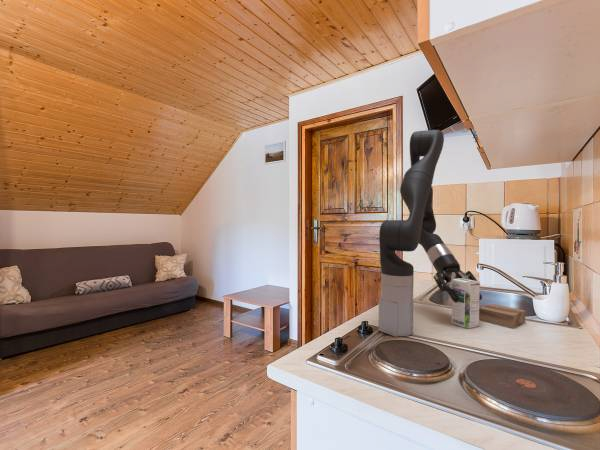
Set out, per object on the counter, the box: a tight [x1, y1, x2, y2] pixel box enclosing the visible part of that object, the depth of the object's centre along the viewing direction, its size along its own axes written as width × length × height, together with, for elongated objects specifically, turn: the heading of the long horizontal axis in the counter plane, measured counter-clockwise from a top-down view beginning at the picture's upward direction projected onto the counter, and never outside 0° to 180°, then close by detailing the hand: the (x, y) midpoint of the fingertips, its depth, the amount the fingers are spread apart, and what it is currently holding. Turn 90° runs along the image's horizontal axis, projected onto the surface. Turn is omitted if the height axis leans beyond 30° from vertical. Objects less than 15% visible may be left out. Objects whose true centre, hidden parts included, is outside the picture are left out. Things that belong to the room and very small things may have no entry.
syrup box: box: [451, 278, 481, 329], centre depth 93 cm, size 6×6×14 cm
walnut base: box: [479, 303, 526, 329], centre depth 97 cm, size 10×10×4 cm
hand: (469, 300), depth 92 cm, fingers open, 8 cm apart
